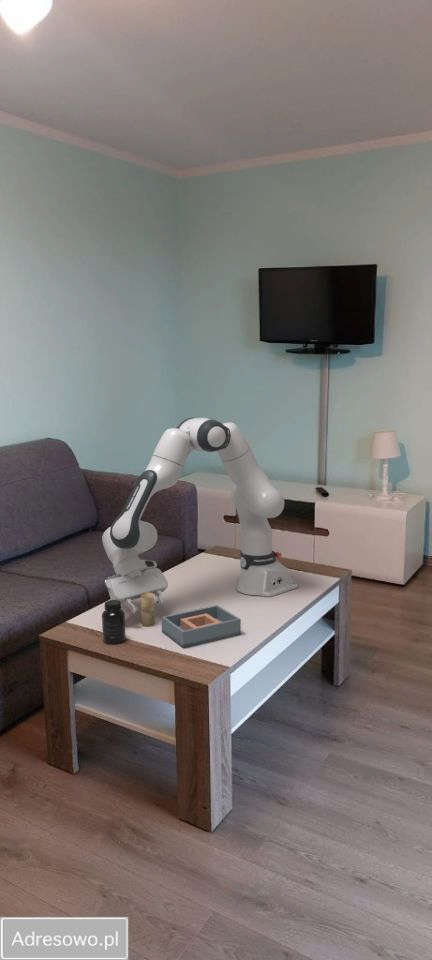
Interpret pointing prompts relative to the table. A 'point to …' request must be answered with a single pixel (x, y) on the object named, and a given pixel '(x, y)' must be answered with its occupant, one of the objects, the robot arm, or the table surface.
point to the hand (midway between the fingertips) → (148, 608)
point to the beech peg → (147, 609)
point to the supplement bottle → (113, 622)
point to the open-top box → (201, 626)
